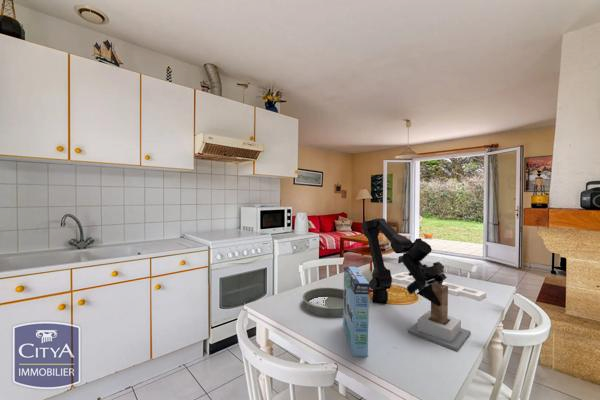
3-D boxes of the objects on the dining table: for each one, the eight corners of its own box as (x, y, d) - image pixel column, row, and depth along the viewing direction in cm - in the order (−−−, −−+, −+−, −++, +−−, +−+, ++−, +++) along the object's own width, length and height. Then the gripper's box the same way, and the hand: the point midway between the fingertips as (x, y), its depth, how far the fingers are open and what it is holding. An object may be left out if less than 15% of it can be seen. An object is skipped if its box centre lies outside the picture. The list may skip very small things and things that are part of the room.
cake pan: (307, 294, 133) (307, 285, 133) (357, 298, 128) (357, 289, 128) (297, 315, 109) (297, 304, 109) (357, 321, 104) (357, 310, 104)
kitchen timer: (383, 285, 147) (383, 259, 147) (385, 294, 133) (385, 265, 133) (357, 283, 150) (358, 257, 150) (357, 292, 137) (357, 263, 137)
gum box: (342, 326, 100) (343, 266, 100) (356, 326, 100) (356, 266, 100) (352, 357, 80) (353, 282, 80) (369, 357, 80) (370, 283, 80)
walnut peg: (430, 320, 96) (431, 285, 95) (436, 317, 98) (436, 283, 98) (441, 324, 92) (442, 288, 92) (447, 321, 94) (448, 286, 94)
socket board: (407, 332, 95) (407, 319, 95) (424, 318, 106) (425, 306, 106) (457, 351, 84) (457, 336, 84) (470, 333, 95) (470, 320, 95)
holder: (486, 297, 131) (486, 292, 131) (470, 306, 120) (470, 300, 120) (404, 275, 168) (404, 271, 168) (387, 280, 157) (387, 276, 157)
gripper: (415, 258, 93) (446, 299, 84) (442, 252, 103) (472, 288, 94) (395, 274, 99) (422, 314, 90) (422, 267, 110) (449, 302, 101)
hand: (443, 304), depth 94 cm, fingers closed on walnut peg, 4 cm apart
